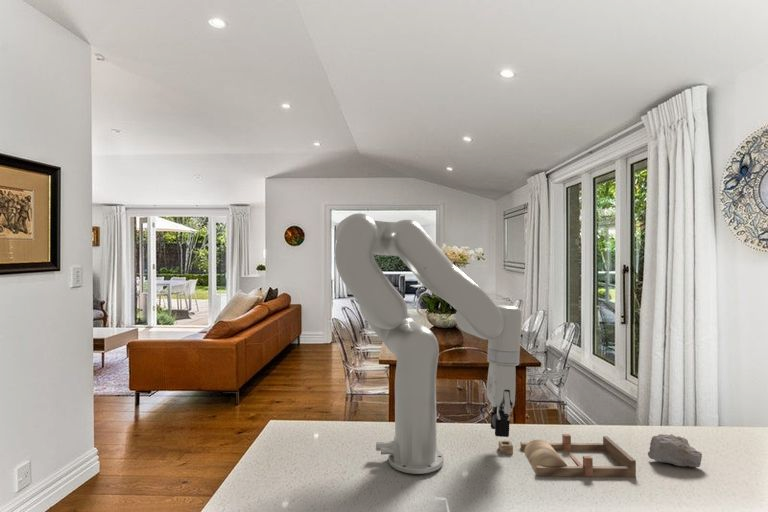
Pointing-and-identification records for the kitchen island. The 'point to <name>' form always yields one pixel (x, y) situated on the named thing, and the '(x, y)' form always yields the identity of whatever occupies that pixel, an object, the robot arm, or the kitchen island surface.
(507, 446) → the tee
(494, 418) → the ball
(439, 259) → the robot arm
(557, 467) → the wooden roller rack
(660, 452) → the stone
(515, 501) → the kitchen island surface
